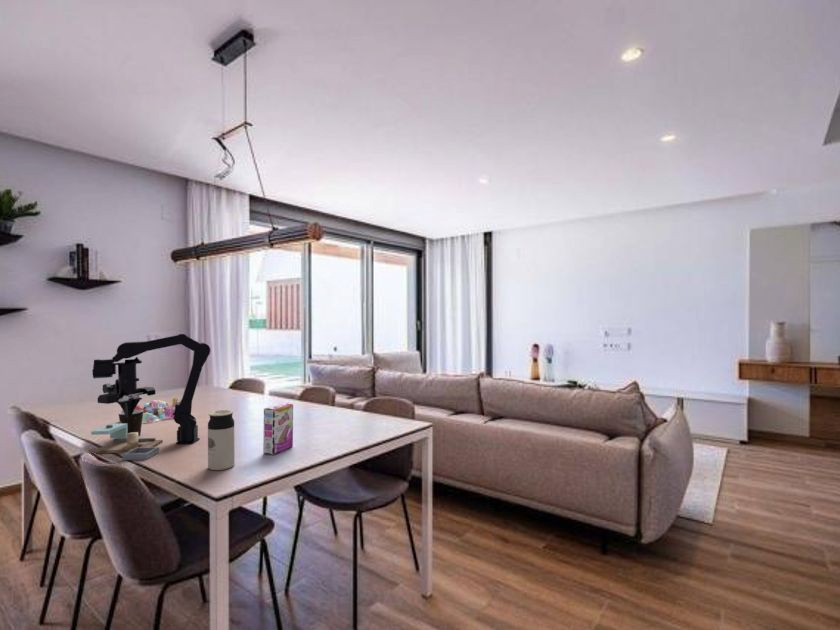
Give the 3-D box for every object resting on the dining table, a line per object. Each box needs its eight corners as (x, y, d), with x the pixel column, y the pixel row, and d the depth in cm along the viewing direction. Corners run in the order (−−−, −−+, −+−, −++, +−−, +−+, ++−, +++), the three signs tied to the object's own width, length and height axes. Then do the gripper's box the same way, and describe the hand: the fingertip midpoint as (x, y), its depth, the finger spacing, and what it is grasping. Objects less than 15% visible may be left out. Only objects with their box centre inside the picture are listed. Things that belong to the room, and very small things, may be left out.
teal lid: (127, 437, 174) (127, 421, 174) (108, 446, 163) (108, 428, 163) (111, 437, 174) (111, 421, 174) (91, 446, 162) (91, 429, 162)
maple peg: (140, 447, 168) (140, 432, 168) (134, 450, 165) (134, 434, 165) (130, 448, 168) (130, 432, 168) (124, 451, 164) (124, 434, 164)
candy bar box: (274, 455, 158) (273, 409, 158) (262, 454, 160) (262, 408, 160) (294, 446, 169) (293, 403, 169) (283, 445, 171) (282, 402, 170)
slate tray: (158, 452, 162) (158, 447, 162) (146, 459, 154) (146, 453, 154) (136, 452, 162) (136, 447, 162) (122, 460, 154) (122, 454, 154)
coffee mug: (121, 434, 187) (121, 410, 187) (145, 432, 190) (145, 409, 190) (113, 442, 176) (113, 416, 176) (139, 439, 179) (139, 414, 179)
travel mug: (230, 461, 153) (229, 408, 152) (238, 467, 146) (237, 412, 146) (205, 466, 147) (204, 411, 147) (212, 472, 141) (211, 415, 141)
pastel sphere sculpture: (145, 413, 230) (145, 395, 230) (191, 412, 230) (191, 394, 230) (111, 425, 205) (111, 404, 205) (162, 424, 205) (162, 404, 205)
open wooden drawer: (162, 442, 175) (162, 437, 175) (144, 452, 163) (144, 446, 163) (115, 443, 174) (115, 438, 174) (93, 453, 162) (93, 447, 162)
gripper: (135, 372, 178) (136, 411, 178) (86, 379, 160) (87, 422, 160) (156, 373, 174) (157, 412, 174) (108, 380, 156) (109, 424, 157)
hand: (128, 417), depth 166 cm, fingers closed
